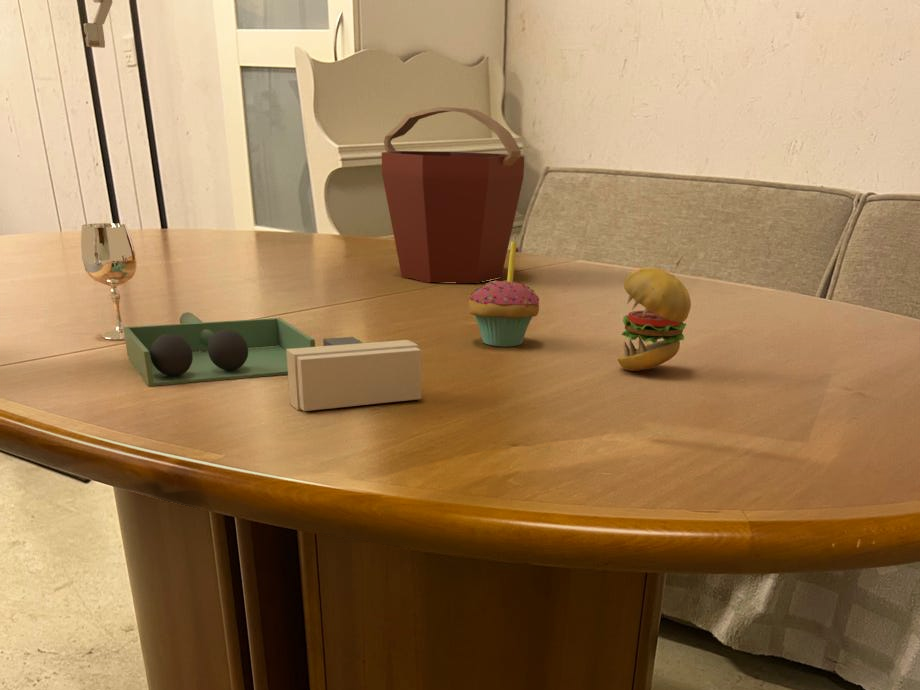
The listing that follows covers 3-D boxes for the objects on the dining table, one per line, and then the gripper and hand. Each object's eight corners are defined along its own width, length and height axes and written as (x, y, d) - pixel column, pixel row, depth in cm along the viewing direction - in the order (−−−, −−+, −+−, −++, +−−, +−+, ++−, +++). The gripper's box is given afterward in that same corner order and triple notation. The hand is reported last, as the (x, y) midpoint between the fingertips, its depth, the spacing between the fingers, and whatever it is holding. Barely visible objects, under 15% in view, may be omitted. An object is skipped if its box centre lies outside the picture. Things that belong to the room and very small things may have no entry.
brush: (423, 347, 86) (396, 333, 91) (298, 357, 81) (276, 342, 86) (423, 401, 88) (397, 384, 93) (301, 413, 83) (280, 395, 88)
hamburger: (625, 360, 106) (637, 247, 100) (687, 368, 103) (703, 252, 97) (606, 374, 99) (618, 255, 94) (673, 383, 97) (689, 260, 91)
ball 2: (222, 360, 98) (256, 346, 97) (221, 384, 95) (255, 369, 94) (200, 330, 94) (234, 315, 94) (198, 354, 92) (233, 339, 91)
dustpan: (316, 371, 97) (314, 339, 95) (148, 386, 90) (143, 351, 88) (258, 330, 114) (256, 302, 113) (114, 340, 107) (109, 310, 106)
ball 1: (171, 359, 95) (204, 353, 94) (160, 387, 93) (194, 381, 92) (149, 328, 92) (183, 322, 90) (136, 356, 90) (171, 350, 88)
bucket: (357, 271, 159) (351, 104, 147) (453, 262, 173) (455, 108, 160) (451, 291, 144) (453, 106, 132) (549, 280, 157) (559, 110, 145)
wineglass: (85, 336, 109) (65, 224, 103) (126, 329, 113) (110, 221, 107) (116, 343, 106) (97, 229, 100) (157, 335, 110) (142, 225, 104)
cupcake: (487, 333, 117) (490, 229, 111) (549, 341, 114) (555, 235, 108) (455, 345, 110) (457, 236, 104) (520, 354, 107) (526, 242, 101)
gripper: (133, -129, 83) (153, 53, 90) (-131, -168, 75) (-87, 35, 82) (145, -143, 78) (165, 50, 85) (-136, -187, 70) (-89, 31, 77)
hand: (40, 43), depth 83 cm, fingers open, 8 cm apart
